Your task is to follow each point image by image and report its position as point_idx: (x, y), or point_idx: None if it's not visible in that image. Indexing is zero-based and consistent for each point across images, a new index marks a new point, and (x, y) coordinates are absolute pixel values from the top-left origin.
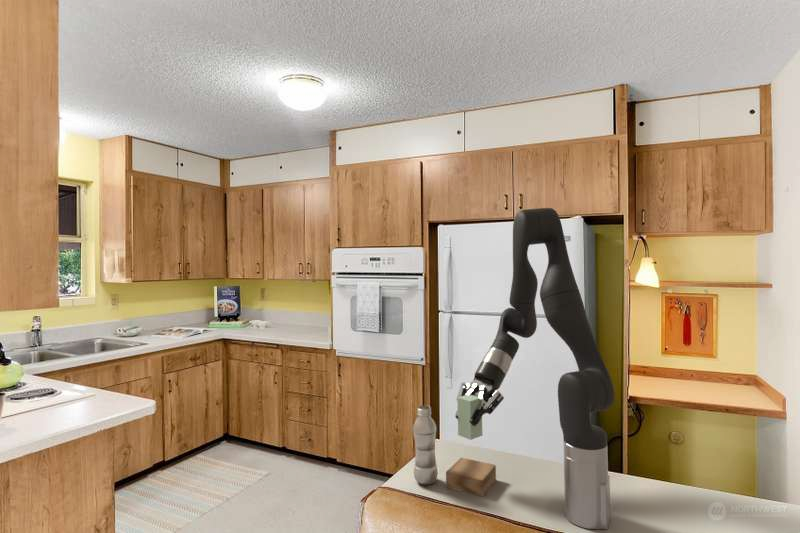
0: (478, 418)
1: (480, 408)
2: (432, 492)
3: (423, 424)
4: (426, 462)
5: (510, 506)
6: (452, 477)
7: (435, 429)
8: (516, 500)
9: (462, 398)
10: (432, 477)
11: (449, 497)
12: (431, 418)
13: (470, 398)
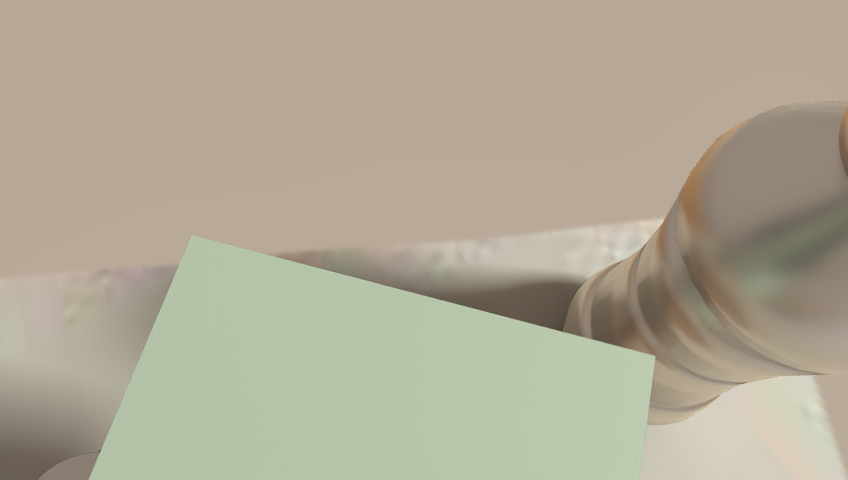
0: None
1: (55, 468)
2: (521, 272)
3: (797, 109)
4: (626, 259)
5: (86, 370)
6: None
7: (694, 247)
8: (67, 454)
9: (488, 353)
10: (569, 309)
11: (417, 276)
12: (823, 220)
13: (280, 477)
